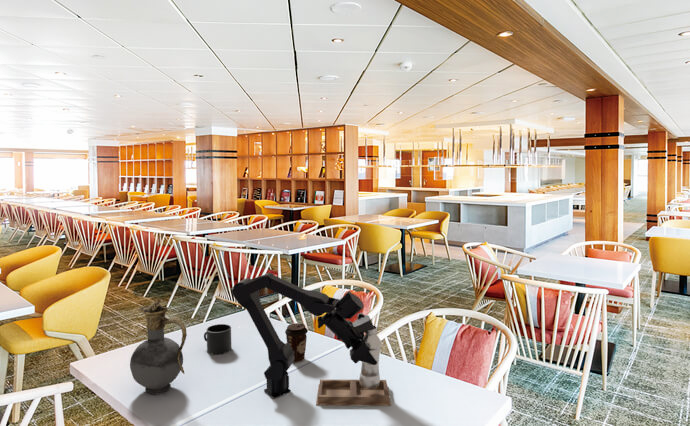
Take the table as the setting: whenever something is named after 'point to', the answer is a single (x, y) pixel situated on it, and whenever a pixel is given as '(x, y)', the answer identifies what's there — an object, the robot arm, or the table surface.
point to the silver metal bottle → (369, 371)
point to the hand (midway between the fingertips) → (374, 359)
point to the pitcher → (157, 352)
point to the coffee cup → (297, 340)
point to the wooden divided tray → (351, 393)
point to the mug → (218, 339)
